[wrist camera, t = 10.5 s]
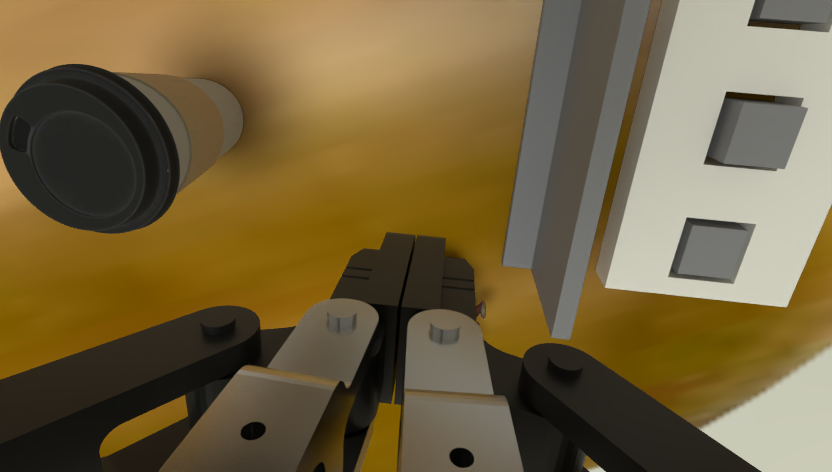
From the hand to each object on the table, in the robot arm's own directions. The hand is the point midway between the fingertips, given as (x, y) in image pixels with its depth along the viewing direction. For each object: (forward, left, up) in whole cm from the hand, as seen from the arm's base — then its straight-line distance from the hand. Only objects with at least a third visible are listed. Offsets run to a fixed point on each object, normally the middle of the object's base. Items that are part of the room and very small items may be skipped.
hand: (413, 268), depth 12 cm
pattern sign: (-1, +9, -27) cm, 28 cm away
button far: (+8, +21, -27) cm, 35 cm away
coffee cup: (+2, -19, -27) cm, 33 cm away
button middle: (-1, +21, -25) cm, 33 cm away
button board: (-1, +21, -27) cm, 34 cm away
